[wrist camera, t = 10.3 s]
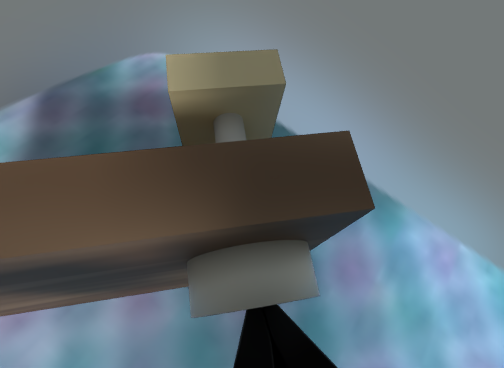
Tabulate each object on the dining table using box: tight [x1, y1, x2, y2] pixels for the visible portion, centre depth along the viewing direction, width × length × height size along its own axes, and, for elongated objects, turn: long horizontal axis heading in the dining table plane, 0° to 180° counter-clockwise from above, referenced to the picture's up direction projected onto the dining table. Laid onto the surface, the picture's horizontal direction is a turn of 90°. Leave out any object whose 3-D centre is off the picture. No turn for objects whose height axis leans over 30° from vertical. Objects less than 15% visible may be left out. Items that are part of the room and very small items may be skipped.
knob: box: [166, 50, 320, 318], centre depth 11 cm, size 8×4×4 cm, turn 9°
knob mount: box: [0, 131, 375, 316], centre depth 12 cm, size 5×18×13 cm, turn 99°
